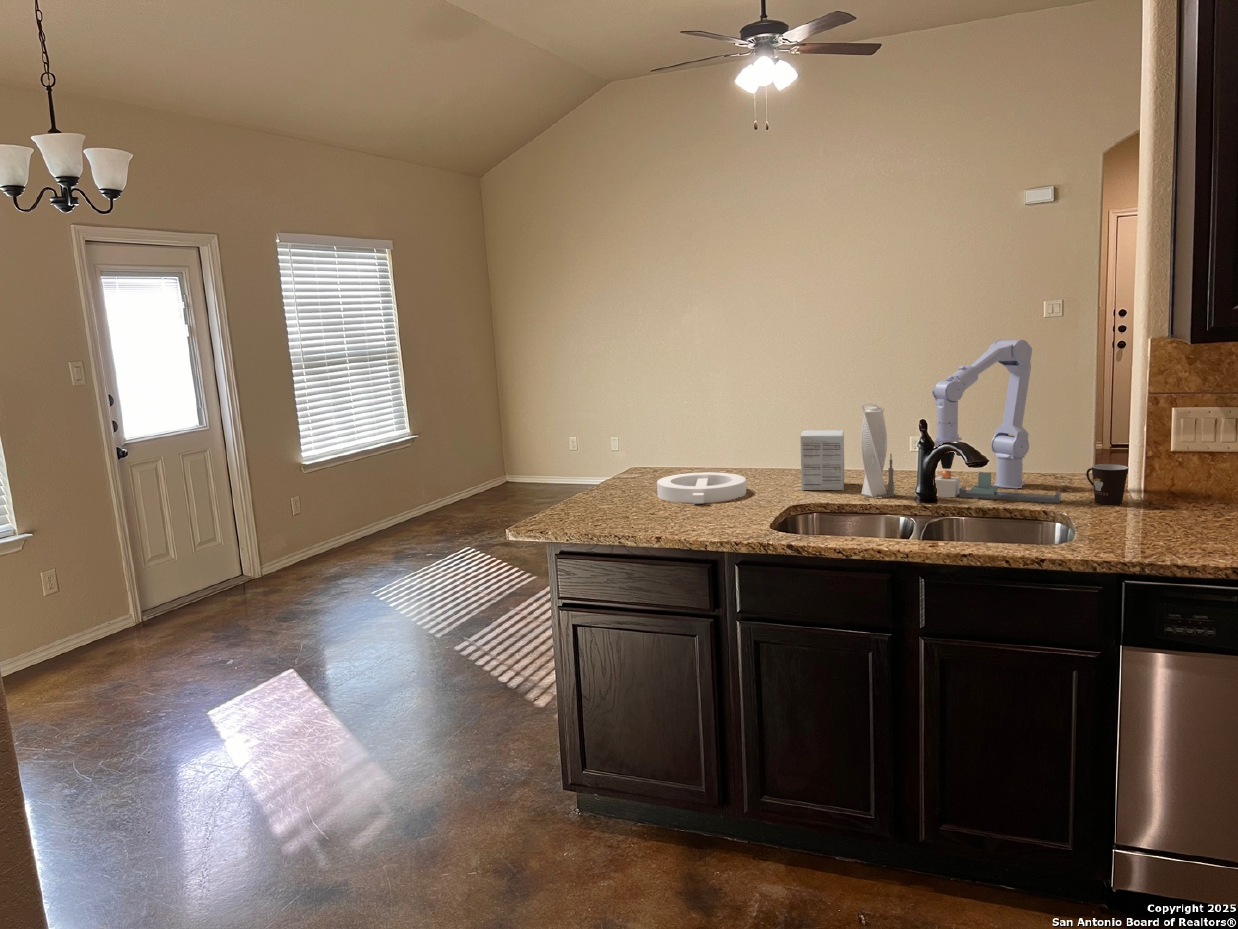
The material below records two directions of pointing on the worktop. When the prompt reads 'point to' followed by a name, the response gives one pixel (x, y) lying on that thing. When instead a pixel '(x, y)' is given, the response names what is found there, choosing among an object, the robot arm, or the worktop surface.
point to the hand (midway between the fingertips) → (946, 468)
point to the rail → (1012, 496)
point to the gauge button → (946, 474)
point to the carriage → (984, 484)
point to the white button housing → (947, 486)
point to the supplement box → (822, 460)
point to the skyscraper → (875, 453)
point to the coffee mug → (1108, 483)
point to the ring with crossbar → (701, 487)
